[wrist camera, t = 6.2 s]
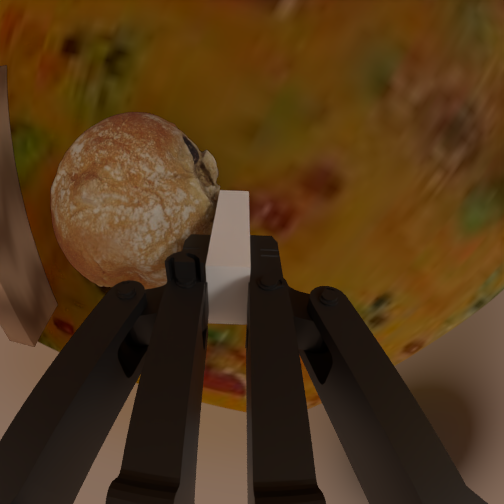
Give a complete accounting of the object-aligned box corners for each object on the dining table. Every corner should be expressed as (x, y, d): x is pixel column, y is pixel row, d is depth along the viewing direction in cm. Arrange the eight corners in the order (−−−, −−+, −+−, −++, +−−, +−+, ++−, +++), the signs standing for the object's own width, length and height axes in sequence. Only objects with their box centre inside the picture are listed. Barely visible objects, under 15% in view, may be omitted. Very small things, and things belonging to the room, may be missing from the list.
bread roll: (235, 198, 21) (287, 216, 14) (138, 301, 21) (142, 366, 14) (139, 97, 17) (140, 57, 10) (37, 210, 17) (-14, 237, 9)
